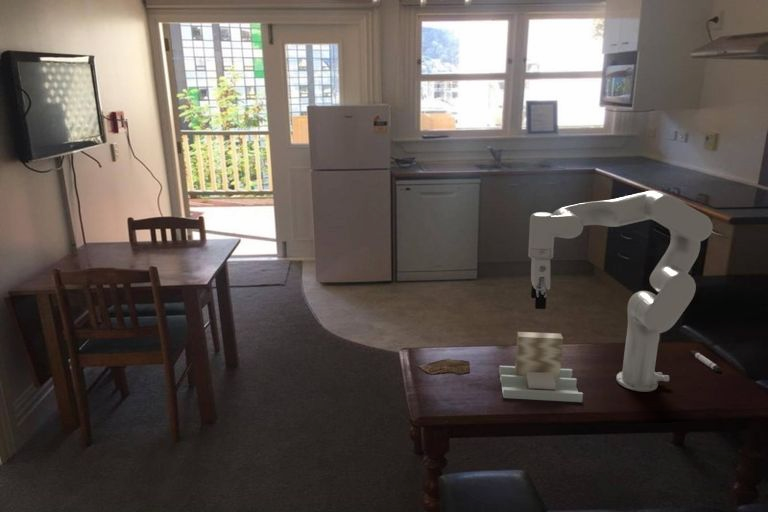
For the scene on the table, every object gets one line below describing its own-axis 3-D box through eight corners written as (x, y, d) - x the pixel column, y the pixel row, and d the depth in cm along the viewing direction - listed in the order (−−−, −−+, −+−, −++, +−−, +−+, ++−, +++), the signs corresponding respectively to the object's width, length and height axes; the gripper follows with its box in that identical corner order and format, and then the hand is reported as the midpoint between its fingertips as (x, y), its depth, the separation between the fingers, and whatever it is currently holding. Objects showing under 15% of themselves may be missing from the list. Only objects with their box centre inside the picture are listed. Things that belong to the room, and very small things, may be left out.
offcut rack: (570, 377, 188) (571, 368, 187) (582, 404, 171) (583, 394, 170) (498, 374, 190) (499, 364, 189) (503, 400, 174) (503, 390, 173)
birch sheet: (557, 377, 186) (560, 333, 181) (559, 383, 182) (563, 338, 178) (514, 375, 187) (517, 331, 183) (515, 381, 184) (518, 336, 179)
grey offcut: (551, 380, 179) (552, 373, 178) (555, 389, 173) (555, 382, 173) (526, 378, 180) (527, 371, 179) (529, 388, 174) (529, 380, 174)
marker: (720, 372, 191) (721, 366, 191) (715, 372, 191) (716, 367, 191) (692, 352, 206) (693, 347, 205) (687, 353, 206) (688, 348, 205)
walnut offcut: (551, 387, 180) (551, 380, 179) (554, 396, 174) (555, 389, 173) (526, 385, 181) (526, 378, 180) (528, 395, 175) (529, 388, 174)
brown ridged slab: (419, 375, 190) (419, 372, 190) (417, 361, 201) (417, 358, 201) (494, 374, 191) (494, 372, 191) (487, 360, 201) (487, 357, 201)
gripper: (557, 259, 164) (554, 313, 169) (548, 245, 181) (546, 294, 186) (532, 259, 165) (529, 312, 170) (525, 244, 182) (523, 293, 187)
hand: (538, 303), depth 178 cm, fingers open, 9 cm apart
